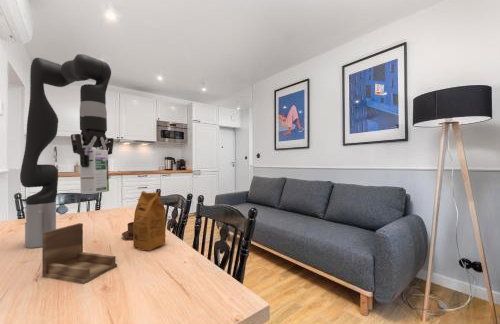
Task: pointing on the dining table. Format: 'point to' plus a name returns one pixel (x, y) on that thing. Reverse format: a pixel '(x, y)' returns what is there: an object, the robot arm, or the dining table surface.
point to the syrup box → (95, 173)
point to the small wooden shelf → (71, 256)
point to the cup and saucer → (129, 231)
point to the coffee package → (149, 222)
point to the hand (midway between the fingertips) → (94, 166)
